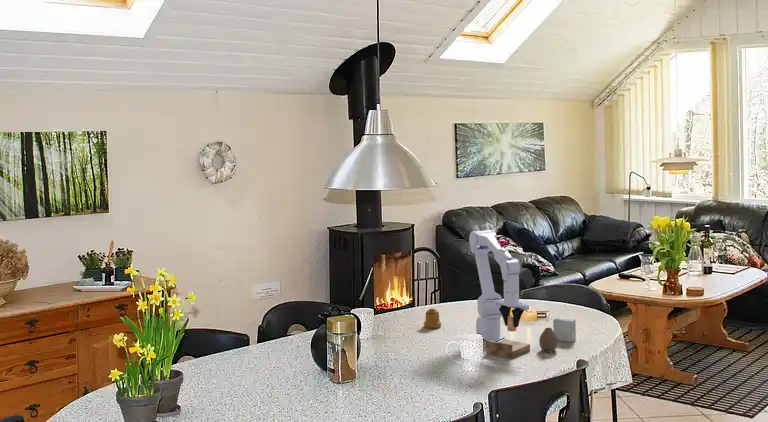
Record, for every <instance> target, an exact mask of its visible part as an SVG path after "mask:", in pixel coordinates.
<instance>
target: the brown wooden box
mask: <svg viewBox="0 0 768 422" xmlns="http://www.w3.org/2000/svg"><path fill="white" fill-rule="evenodd" d="M485 341H486V349H485V350H486V354H487V353H489V354H488V355H491V354H493V355H492V356H495V355H496V356H495V357H501V358H504V359H510V360H512V359H514V358H517V357H519V356H521V355H524V354H525V353H528V352H530V351H531V344H530V343H526V342H521V341H515V340H511V339H506V338H505V339H502V340H501V341H500V340H499V341H490V340H485Z"/></svg>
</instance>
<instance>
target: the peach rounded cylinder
mask: <svg viewBox="0 0 768 422" xmlns="http://www.w3.org/2000/svg"><path fill="white" fill-rule="evenodd" d="M506 327H507V331H508V332H517V327H516V328H515V327H514V324H513V314H510V315H508V316H507V326H506Z"/></svg>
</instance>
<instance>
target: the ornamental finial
mask: <svg viewBox="0 0 768 422" xmlns="http://www.w3.org/2000/svg"><path fill="white" fill-rule="evenodd" d="M423 326H424V328H425V329H430V330H436V329H439V328H441V326H442V322H441V321H440V311H438V310H437V309H436V308H434V307H433V308H432V307H431V308H429V309H427V310H426V311H425V320H424V322H423Z"/></svg>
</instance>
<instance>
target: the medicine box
mask: <svg viewBox="0 0 768 422" xmlns="http://www.w3.org/2000/svg"><path fill="white" fill-rule="evenodd" d="M576 321H577V319H576V318H570V317H563V316H557V317H555V318H553V321H552V322H553V325H552V328H553V329H552V330H553V332H554V333H555V334H556V336H557V339H558V342H566V343H567V342H568V343H573V342H575V341H576V338H577V337H576V335H577V334H576V333H577V332H576V326H577V325H576V323H577V322H576Z"/></svg>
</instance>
